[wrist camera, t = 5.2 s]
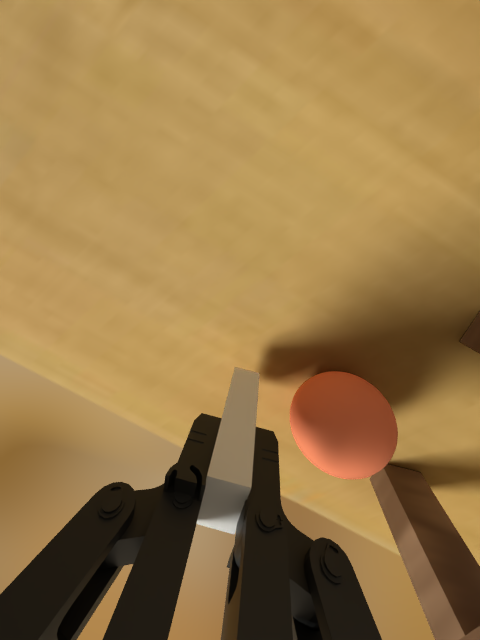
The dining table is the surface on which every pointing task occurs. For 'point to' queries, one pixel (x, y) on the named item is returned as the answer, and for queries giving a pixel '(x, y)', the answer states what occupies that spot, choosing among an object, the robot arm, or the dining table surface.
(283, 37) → the dining table surface
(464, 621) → the bridge
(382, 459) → the ball
